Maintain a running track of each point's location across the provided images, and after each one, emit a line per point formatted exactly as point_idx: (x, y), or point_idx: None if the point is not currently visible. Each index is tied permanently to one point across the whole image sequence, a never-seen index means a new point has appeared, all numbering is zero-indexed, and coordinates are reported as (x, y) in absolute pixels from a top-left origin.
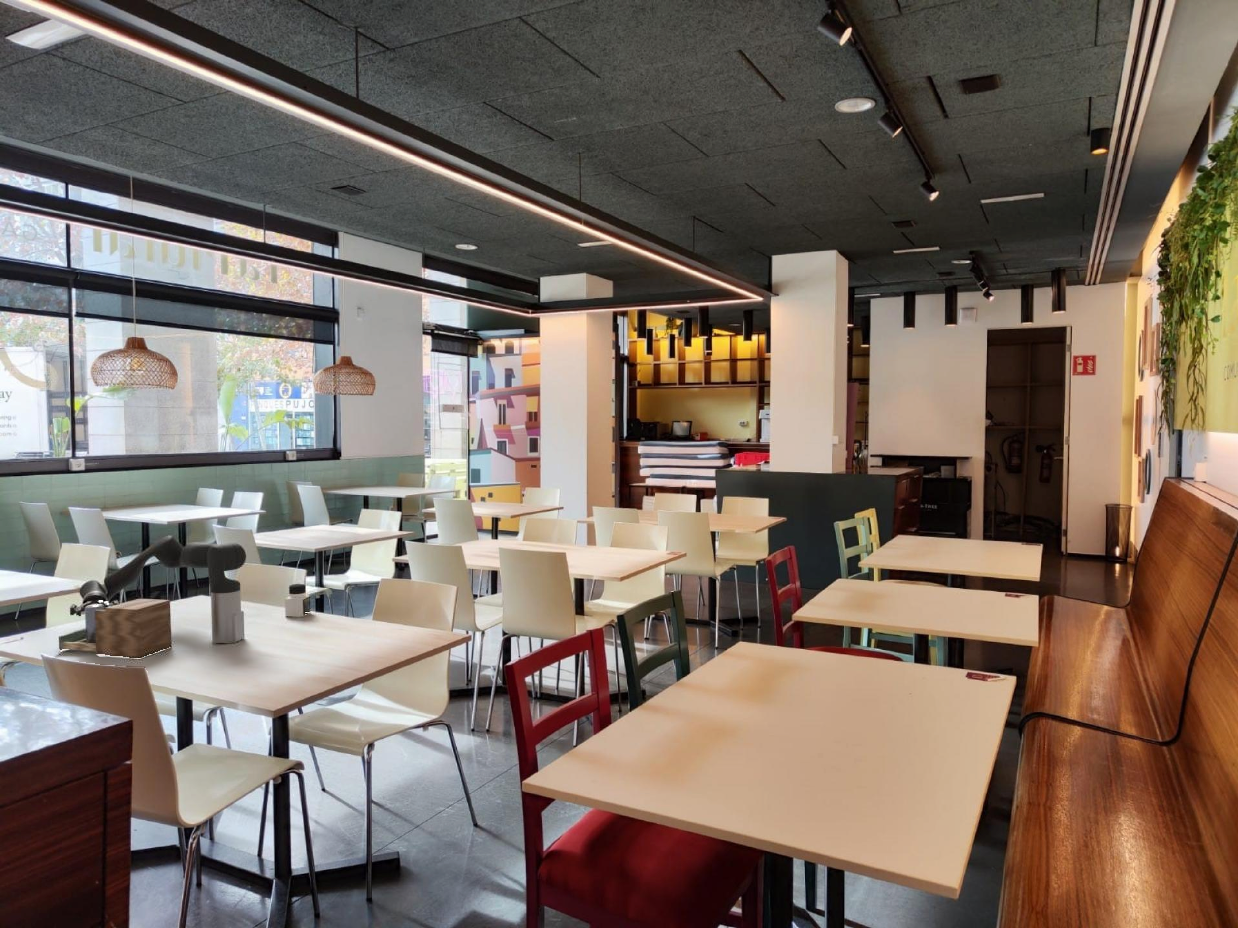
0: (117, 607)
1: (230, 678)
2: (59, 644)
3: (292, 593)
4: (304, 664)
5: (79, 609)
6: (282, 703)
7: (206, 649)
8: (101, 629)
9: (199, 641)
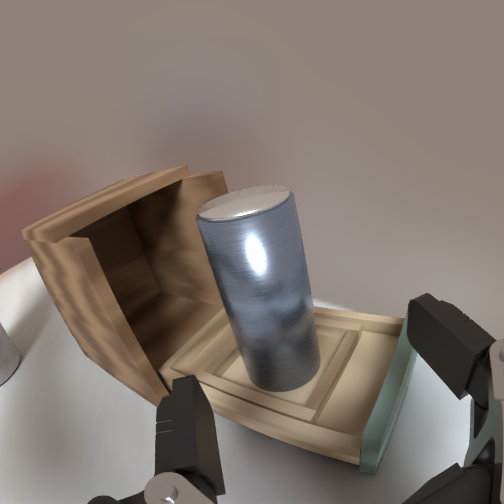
0: (154, 174)
1: None
2: None
3: None
4: (32, 271)
5: (434, 307)
6: None
7: (49, 330)
8: None
9: (25, 385)
